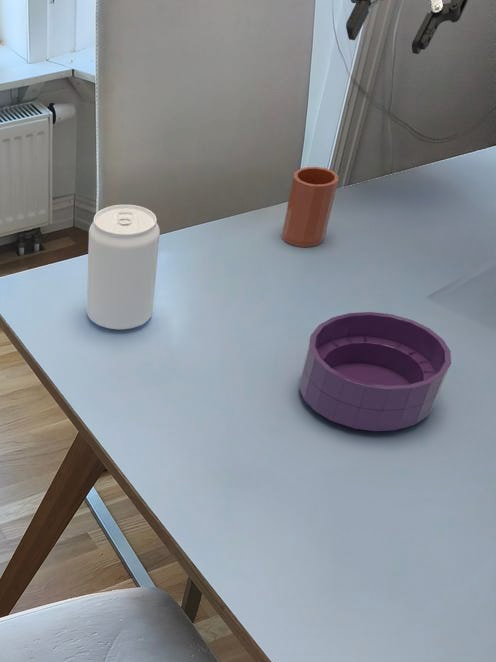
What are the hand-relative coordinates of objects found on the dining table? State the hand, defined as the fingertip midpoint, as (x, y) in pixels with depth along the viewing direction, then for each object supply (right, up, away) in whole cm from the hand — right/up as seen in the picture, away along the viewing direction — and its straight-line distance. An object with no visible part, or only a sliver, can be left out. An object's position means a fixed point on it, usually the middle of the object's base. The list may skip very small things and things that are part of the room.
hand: (382, 43), depth 110 cm
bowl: (-7, -48, -13) cm, 50 cm away
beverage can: (-33, -35, -1) cm, 48 cm away
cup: (-7, -20, +10) cm, 23 cm away
